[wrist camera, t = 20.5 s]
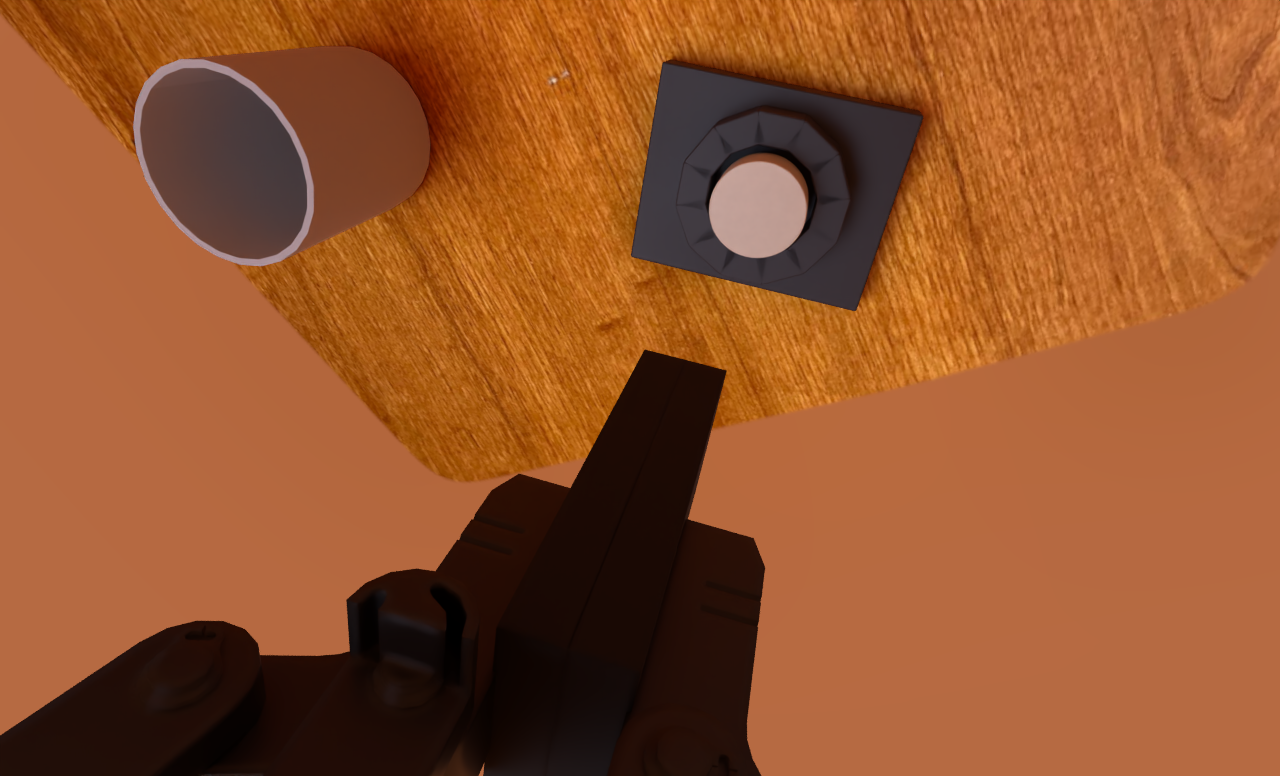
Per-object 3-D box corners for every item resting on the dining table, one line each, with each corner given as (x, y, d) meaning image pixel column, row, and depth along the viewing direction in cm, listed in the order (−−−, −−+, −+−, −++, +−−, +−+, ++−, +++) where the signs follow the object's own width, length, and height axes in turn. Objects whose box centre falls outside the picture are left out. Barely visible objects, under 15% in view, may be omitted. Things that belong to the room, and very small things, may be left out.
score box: (920, 110, 27) (929, 122, 25) (855, 300, 31) (856, 326, 29) (669, 59, 29) (653, 65, 26) (638, 247, 33) (621, 268, 30)
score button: (820, 163, 27) (819, 173, 25) (794, 254, 29) (791, 268, 27) (726, 142, 27) (720, 151, 26) (706, 233, 29) (699, 246, 27)
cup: (453, 200, 34) (341, 259, 26) (279, 218, 36) (132, 276, 29) (409, 32, 31) (268, 43, 23) (222, 65, 33) (40, 85, 26)
